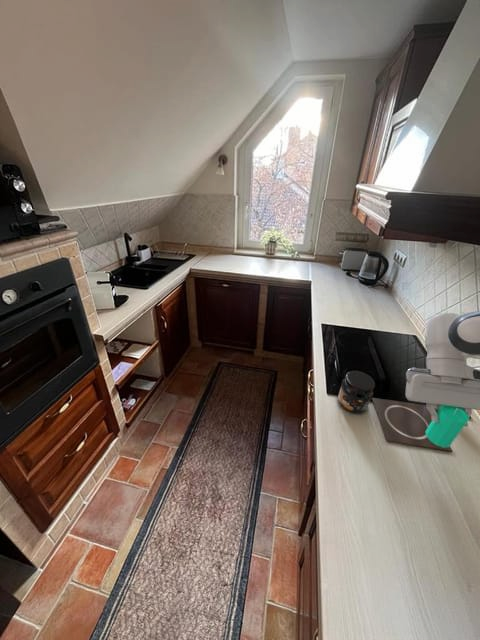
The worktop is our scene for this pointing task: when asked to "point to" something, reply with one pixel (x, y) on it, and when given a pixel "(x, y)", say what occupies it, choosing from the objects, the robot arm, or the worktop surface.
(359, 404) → the supplement container
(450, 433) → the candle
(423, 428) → the brown square pad
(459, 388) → the robot arm
